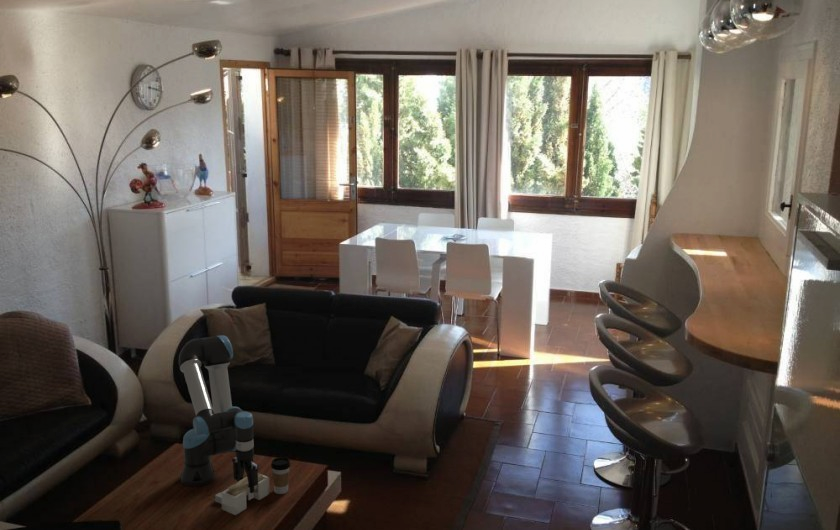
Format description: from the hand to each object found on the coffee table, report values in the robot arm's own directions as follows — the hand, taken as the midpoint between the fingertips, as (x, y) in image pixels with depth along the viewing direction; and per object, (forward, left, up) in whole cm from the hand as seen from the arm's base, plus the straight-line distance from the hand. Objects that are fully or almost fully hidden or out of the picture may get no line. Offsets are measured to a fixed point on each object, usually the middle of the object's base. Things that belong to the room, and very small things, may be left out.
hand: (246, 496), depth 325 cm
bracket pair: (0, 0, -2) cm, 2 cm away
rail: (0, 0, +3) cm, 3 cm away
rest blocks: (-9, 0, -2) cm, 9 cm away
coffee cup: (+6, +15, -2) cm, 17 cm away
